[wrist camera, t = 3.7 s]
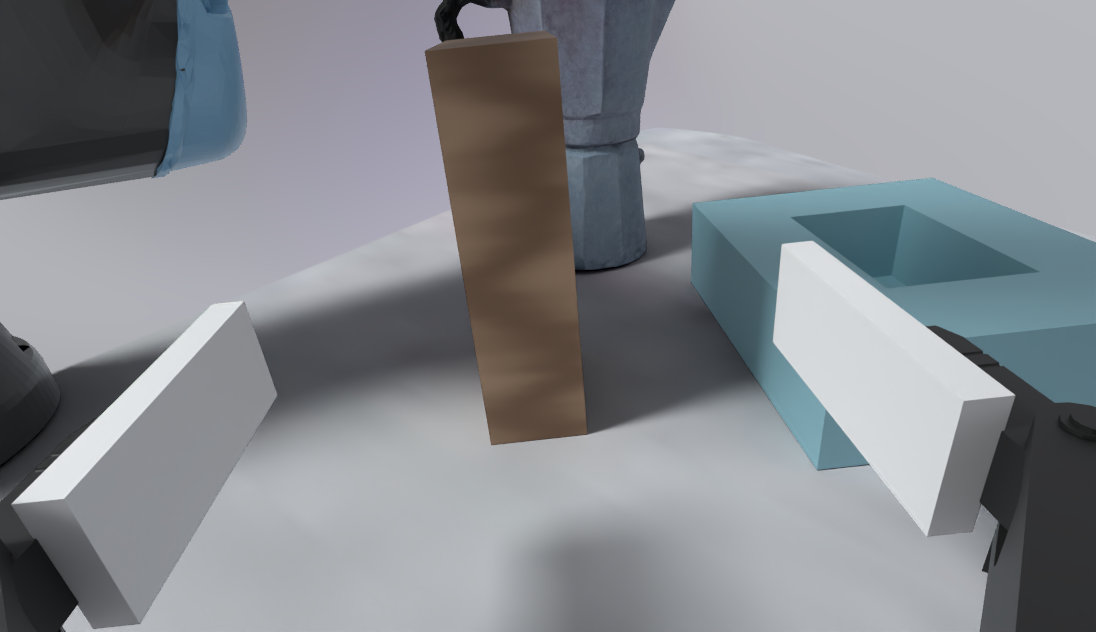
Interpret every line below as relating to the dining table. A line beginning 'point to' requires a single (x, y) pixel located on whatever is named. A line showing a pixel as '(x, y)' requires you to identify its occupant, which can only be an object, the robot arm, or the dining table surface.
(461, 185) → the walnut board
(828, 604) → the dining table surface
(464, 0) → the moka pot
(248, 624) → the dining table surface
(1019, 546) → the robot arm
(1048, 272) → the slotted base
